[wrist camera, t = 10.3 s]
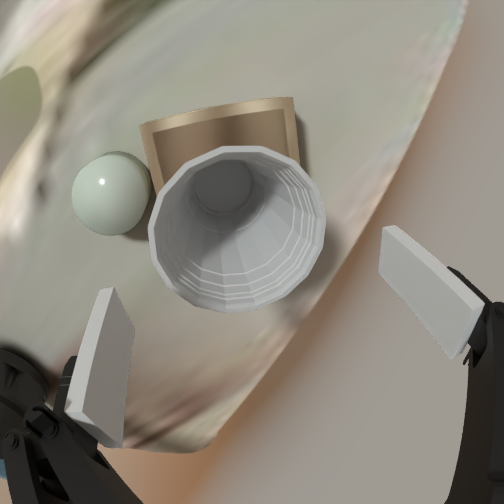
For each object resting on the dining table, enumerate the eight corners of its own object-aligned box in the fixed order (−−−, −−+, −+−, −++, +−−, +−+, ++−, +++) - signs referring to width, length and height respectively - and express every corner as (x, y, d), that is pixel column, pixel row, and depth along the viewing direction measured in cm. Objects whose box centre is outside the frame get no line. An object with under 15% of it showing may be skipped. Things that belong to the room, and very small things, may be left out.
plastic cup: (302, 167, 28) (363, 215, 17) (239, 251, 31) (261, 333, 21) (208, 103, 23) (214, 105, 13) (146, 201, 27) (117, 270, 16)
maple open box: (177, 240, 34) (175, 258, 30) (146, 122, 26) (139, 125, 23) (294, 216, 35) (305, 231, 31) (281, 97, 27) (292, 97, 24)
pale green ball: (97, 227, 31) (87, 243, 28) (76, 163, 27) (62, 173, 23) (159, 210, 32) (155, 225, 28) (141, 142, 27) (133, 148, 24)
